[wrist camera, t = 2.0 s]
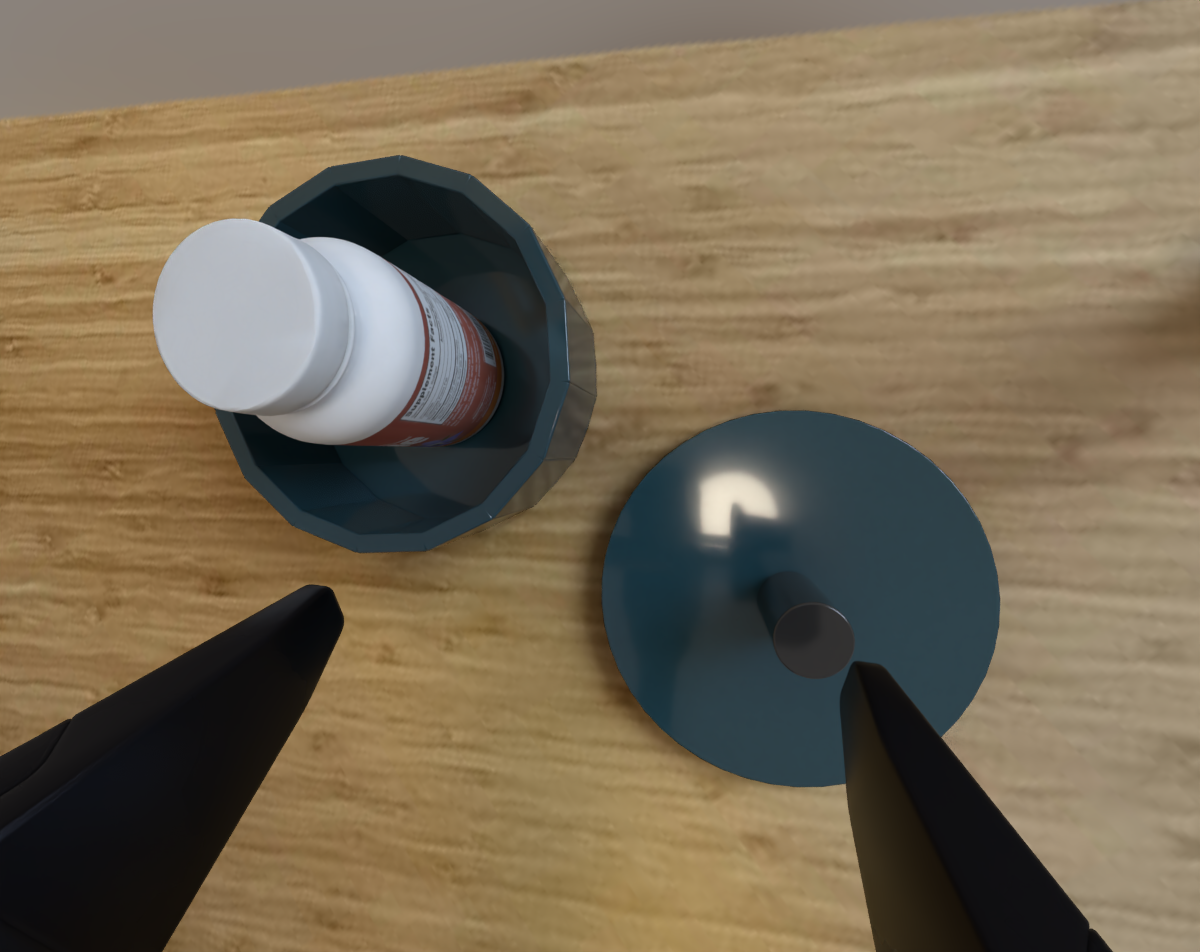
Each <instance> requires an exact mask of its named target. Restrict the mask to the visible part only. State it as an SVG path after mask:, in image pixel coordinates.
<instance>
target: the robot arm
mask: <svg viewBox="0 0 1200 952" xmlns="http://www.w3.org/2000/svg"><path fill="white" fill-rule="evenodd" d="M343 626H344V616H343V613H342V611H341V608H340V606H339V604H338V601H337V599H336V596H335V594H334V592H333V590H332V589H331V588H329V587H327V586H320V585H306V586H304V587H302V588H300V589H298V590H296V591H295V592H293V593H291V594H289V595H287V596H286V597H284V598H282V599H280V600H279V601H277V602H275V603H273V604H271V605H270V606H268V607H266V608H264V609H263V610H261V611H259V612H257V613H255V614H254V615H252V616H250V617H248V618H247V619H245V620H243V621H241V622H240V623H238V624H236V625H234V626H232V627H231V628H229V629H227V630H225V631H224V632H222V633H220V634H218V635H216V636H215V637H213V638H211V639H209V640H208V641H206V642H204V643H202V644H200V645H199V646H197V647H195V648H193V649H192V650H190V651H188V652H186V653H184V654H183V655H181V656H179V657H177V658H176V659H174V660H172V661H170V662H169V663H167V664H165V665H163V666H161V667H160V668H158V669H156V670H154V671H153V672H151V673H149V674H147V675H145V676H144V677H142V678H140V679H138V680H137V681H135V682H133V683H131V684H129V685H128V686H126V687H124V688H122V689H121V690H119V691H117V692H115V693H113V694H112V695H110V696H108V697H106V698H105V699H103V700H101V701H99V702H97V703H96V704H94V705H92V706H90V707H89V708H87V709H85V710H83V711H81V712H80V713H78V714H76V715H75V716H74V717H73V718H72V719H67V720H65V721H63V722H62V723H60V724H58V725H56V726H55V727H53V728H51V729H49V730H48V731H46V732H44V733H42V734H41V735H39V736H37V737H35V738H33V739H31V740H30V741H28V742H26V743H24V744H22V745H20V746H19V747H17V748H15V749H13V750H11V751H9V752H8V753H6V754H4V755H2V756H0V952H162V951H163V950H164V948H165V946H166V944H167V943H168V941H169V939H170V938H171V936H172V934H173V933H174V931H175V929H176V927H177V926H178V924H179V922H180V921H181V919H182V917H183V916H184V914H185V912H186V910H187V909H188V907H189V905H190V904H191V902H192V900H193V899H194V897H195V895H196V894H197V892H198V890H199V888H200V887H201V885H202V883H203V882H204V880H205V878H206V877H207V875H208V873H209V871H210V870H211V868H212V866H213V865H214V863H215V861H216V860H217V858H218V856H219V854H220V853H221V851H222V849H223V848H224V846H225V844H226V843H227V841H228V839H229V837H230V836H231V834H232V832H233V831H234V829H235V827H236V826H237V824H238V822H239V821H240V819H241V817H242V815H243V814H244V812H245V810H246V809H247V807H248V805H249V804H250V802H251V800H252V798H253V797H254V795H255V793H256V792H257V790H258V788H259V787H260V785H261V783H262V781H263V780H264V778H265V776H266V775H267V773H268V771H269V770H270V768H271V766H272V764H273V763H274V761H275V759H276V758H277V756H278V754H279V753H280V751H281V749H282V747H283V746H284V744H285V742H286V741H287V739H288V737H289V736H290V734H291V732H292V731H293V729H294V727H295V725H296V724H297V722H298V720H299V719H300V717H301V715H302V713H303V711H304V710H305V708H306V706H307V704H308V702H309V700H310V698H311V696H312V694H313V692H314V690H315V687H316V685H317V683H318V681H319V679H320V677H321V675H322V673H323V670H324V668H325V666H326V664H327V662H328V660H329V658H330V655H331V653H332V651H333V649H334V647H335V645H336V643H337V640H338V638H339V636H340V634H341V632H342V629H343ZM839 706H840V719H841V731H842V743H843V755H844V767H845V778H846V790H847V800H848V809H849V815H850V821H851V827H852V832H853V837H854V842H855V847H856V852H857V857H858V862H859V867H860V873H861V878H862V883H863V888H864V893H865V898H866V903H867V908H868V913H869V919H870V924H871V929H872V934H873V939H874V944H875V949H876V952H1113V951H1112V950H1111V949H1110V948H1109V946H1108V945H1107V944H1106V943H1105V941H1104V940H1103V939H1102V938H1101V936H1100V935H1099V934H1098V933H1097V931H1095V930H1094V929H1089V922H1088V921H1087V919H1086V918H1085V917H1084V915H1083V914H1082V913H1081V912H1080V910H1079V909H1078V908H1077V907H1076V905H1075V904H1074V903H1073V902H1072V900H1071V899H1070V898H1069V897H1068V895H1067V894H1066V893H1065V892H1064V890H1063V889H1062V888H1061V887H1060V885H1059V884H1058V883H1057V882H1056V880H1055V879H1054V878H1053V877H1052V875H1051V874H1050V873H1049V872H1048V870H1047V869H1046V868H1045V867H1044V865H1043V864H1042V863H1041V862H1040V860H1039V859H1038V858H1037V857H1036V855H1035V854H1034V853H1033V852H1032V850H1031V849H1030V848H1029V847H1028V845H1027V844H1026V843H1025V842H1024V840H1023V839H1022V838H1021V837H1020V835H1019V834H1018V833H1017V832H1016V830H1015V829H1014V828H1013V827H1012V825H1011V824H1010V823H1009V822H1008V820H1007V819H1006V818H1005V817H1004V815H1003V814H1002V813H1001V812H1000V810H999V809H998V808H997V807H996V805H995V804H994V803H993V802H992V800H991V799H990V798H989V797H988V795H987V794H986V793H985V792H984V790H983V789H982V788H981V787H980V785H979V784H978V783H977V782H976V780H975V779H974V778H973V777H972V775H971V774H970V773H969V772H968V770H967V769H966V768H965V767H964V765H963V764H962V763H961V762H960V760H959V759H958V758H957V757H956V755H955V754H954V753H953V752H952V750H951V749H950V748H949V747H948V745H947V744H946V743H945V742H944V740H943V739H942V738H941V737H940V735H939V734H938V733H937V732H936V730H935V729H934V728H933V727H932V725H931V724H930V723H929V722H928V720H927V719H926V718H925V717H924V715H923V714H922V713H921V712H920V710H919V709H918V708H917V707H916V705H915V704H914V703H913V702H912V700H911V699H910V698H909V697H908V695H907V694H906V693H905V692H904V690H903V689H902V688H901V687H900V685H899V684H898V683H897V682H896V680H895V679H894V678H893V677H892V675H891V674H890V673H889V672H888V670H887V669H886V668H885V667H884V666H882V665H880V664H877V663H871V662H864V661H854V662H853V663H852V664H851V666H850V669H849V671H848V674H847V677H846V679H845V682H844V685H843V687H842V690H841V693H840V703H839Z"/></svg>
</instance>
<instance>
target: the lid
mask: <svg viewBox="0 0 1200 952" xmlns="http://www.w3.org/2000/svg"><path fill="white" fill-rule="evenodd" d="M602 610H603V618H604V626H605V630H606V634H607V638H608V642H609V646H610V649H611V652H612V654H613V657H614V659H615V662H616V664H617V667H618V669H619V671H620V673H621V675H622V677H623V679H624V681H625V682H626V684H627V686H628V688H629V690H630V691H631V693H632V694H633V696H634V697H635V698H636V700H637V701H638V703H639V704H640V705H641V707H642V708H643V709H644V711H645V712H646V713H647V714H648V715H649V716H650V717H651V718H652V719H653V721H654V722H655V723H656V724H657V725H658V726H659V727H660V728H661V729H662V730H663V731H664V732H666V733H667V734H668V735H669V736H670V737H671V738H673V739H674V740H675V741H676V742H677V743H678V744H680V745H681V746H683V747H684V748H686V749H687V750H689V751H690V752H692V753H693V754H695V755H696V756H698V757H699V758H701V759H703V760H705V761H707V762H709V763H711V764H712V765H714V766H716V767H718V768H720V769H722V770H725V771H728V772H730V773H733V774H736V775H739V776H741V777H744V778H747V779H751V780H756V781H760V782H764V783H768V784H774V785H783V786H792V787H825V786H832V785H840V784H846V778H845V767H844V755H843V743H842V731H841V719H840V706H839V703H840V693H841V690H842V687H843V685H844V682H845V679H846V677H847V674H848V671H849V669H850V666H851V664H852V663H853V662H854V661H864V662H871V663H877V664H880V665H882V666H884V667H885V668H886V669H887V670H888V672H889V673H890V674H891V675H892V677H893V678H894V679H895V680H896V682H897V683H898V684H899V685H900V687H901V688H902V689H903V690H904V692H905V693H906V694H907V695H908V697H909V698H910V699H911V700H912V702H913V703H914V704H915V705H916V707H917V708H918V709H919V710H920V712H921V713H922V714H923V715H924V717H925V718H926V719H927V720H928V722H929V723H930V724H931V725H932V727H933V728H934V729H935V730H936V732H937V733H938V734H939V735H940V737H942V736H943V735H944V734H945V733H946V732H947V731H948V730H949V729H950V728H951V726H952V725H953V724H954V723H955V722H956V721H957V720H958V719H959V718H960V716H961V715H962V714H963V712H964V711H965V710H966V708H967V707H968V705H969V704H970V703H971V701H972V700H973V699H974V697H975V695H976V693H977V691H978V689H979V687H980V685H981V683H982V682H983V680H984V678H985V676H986V673H987V670H988V667H989V665H990V662H991V659H992V656H993V653H994V649H995V644H996V639H997V634H998V629H999V615H1000V594H999V584H998V575H997V570H996V566H995V562H994V558H993V554H992V551H991V547H990V545H989V542H988V540H987V537H986V535H985V533H984V530H983V528H982V525H981V523H980V521H979V520H978V518H977V516H976V514H975V513H974V511H973V509H972V508H971V506H970V504H969V503H968V501H967V499H966V498H965V497H964V496H963V494H962V493H961V492H960V491H959V489H958V488H957V487H956V486H955V484H954V483H953V482H952V480H951V479H950V478H949V477H948V476H947V475H946V474H945V473H944V472H943V471H942V470H941V469H940V468H938V467H937V466H936V465H935V464H934V463H933V462H932V461H931V460H930V459H929V458H927V457H926V456H925V455H923V454H922V453H921V452H919V451H918V450H916V449H915V448H914V447H912V446H911V445H910V444H908V443H906V442H905V441H903V440H901V439H899V438H897V437H896V436H894V435H892V434H890V433H888V432H886V431H885V430H882V429H880V428H877V427H875V426H872V425H869V424H867V423H864V422H862V421H859V420H855V419H852V418H848V417H844V416H840V415H836V414H830V413H822V412H814V411H774V412H766V413H758V414H752V415H748V416H745V417H741V418H737V419H733V420H729V421H727V422H724V423H722V424H719V425H717V426H714V427H712V428H709V429H707V430H705V431H703V432H701V433H700V434H698V435H696V436H694V437H692V438H691V439H689V440H687V441H685V442H684V443H682V444H681V445H680V446H678V447H677V448H676V449H674V450H673V451H672V452H670V453H669V454H668V455H666V456H665V457H664V458H663V459H662V460H661V461H660V462H659V463H658V464H656V465H655V466H654V467H653V468H652V469H651V470H650V471H649V472H648V473H647V474H646V476H645V477H644V478H643V479H642V481H641V482H640V483H639V485H638V486H637V487H636V488H635V490H634V491H633V492H632V494H631V495H630V497H629V499H628V500H627V502H626V504H625V506H624V507H623V509H622V511H621V512H620V515H619V517H618V519H617V522H616V524H615V526H614V529H613V531H612V533H611V536H610V540H609V544H608V547H607V551H606V554H605V560H604V567H603V574H602Z"/></svg>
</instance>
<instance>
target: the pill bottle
mask: <svg viewBox="0 0 1200 952" xmlns="http://www.w3.org/2000/svg"><path fill="white" fill-rule="evenodd" d="M153 325H154V333H155V338H156V342H157V346H158V349H159V352H160V355H161V357H162V359H163V361H164V363H165V365H166V367H167V369H168V370H169V372H170V373H171V375H172V376H173V378H174V379H175V381H176V382H177V383H178V384H179V385H180V386H181V387H182V388H183V389H184V390H185V391H186V392H187V393H188V394H190V395H191V396H192V397H194V398H195V399H196V400H198V401H199V402H201V403H203V404H205V405H207V406H210V407H213V408H216V409H219V410H224V411H229V412H236V413H243V414H251V415H256V416H257V417H258V418H259V419H261V420H262V421H263V422H264V423H266V424H267V425H269V426H270V427H271V428H273V429H274V430H276V431H278V432H280V433H282V434H284V435H286V436H288V437H291V438H293V439H297V440H300V441H304V442H309V443H316V444H325V445H355V446H402V447H441V446H448V445H453V444H457V443H460V442H462V441H465V440H467V439H468V438H470V437H472V436H473V435H475V434H476V433H478V432H479V431H480V430H481V429H482V428H483V427H484V426H485V425H486V424H487V423H488V422H489V420H490V419H491V417H492V416H493V414H494V413H495V411H496V409H497V407H498V405H499V402H500V399H501V396H502V391H503V386H504V367H503V361H502V356H501V353H500V350H499V347H498V345H497V343H496V341H495V339H494V337H493V336H492V334H491V333H490V332H489V330H488V329H487V328H486V327H485V326H484V324H483V323H481V322H480V321H479V320H478V319H477V318H476V317H474V316H473V315H472V314H470V313H469V312H467V311H466V310H464V309H463V308H461V307H460V306H458V305H457V304H455V303H454V302H452V301H450V300H449V299H447V298H445V297H444V296H442V295H440V294H439V293H437V292H436V291H434V290H433V289H431V288H430V287H428V286H426V285H425V284H423V283H422V282H420V281H418V280H417V279H415V278H414V277H412V276H410V275H409V274H407V273H406V272H404V271H403V270H401V269H399V268H398V267H396V266H395V265H393V264H392V263H390V262H388V261H387V260H385V259H383V258H382V257H380V256H378V255H376V254H375V253H373V252H371V251H369V250H367V249H366V248H364V247H362V246H359V245H357V244H354V243H352V242H349V241H345V240H341V239H336V238H328V237H312V238H305V239H297V238H294V237H292V236H290V235H288V234H286V233H284V232H282V231H280V230H278V229H275V228H273V227H271V226H269V225H267V224H264V223H262V222H258V221H253V220H249V219H226V220H220V221H216V222H213V223H210V224H208V225H205V226H203V227H201V228H199V229H198V230H197V231H195V232H193V233H192V234H190V235H189V236H188V237H187V238H186V239H184V240H183V241H182V242H181V243H180V244H179V245H178V246H177V248H176V249H175V250H174V251H173V253H172V254H171V255H170V257H169V259H168V260H167V262H166V264H165V266H164V267H163V270H162V272H161V274H160V277H159V279H158V283H157V287H156V290H155V295H154V302H153Z"/></svg>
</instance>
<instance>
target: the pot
mask: <svg viewBox="0 0 1200 952" xmlns="http://www.w3.org/2000/svg"><path fill="white" fill-rule="evenodd" d="M259 222H262V223H264V224H267V225H269V226H271V227H273V228H275V229H278V230H280V231H282V232H284V233H286V234H288V235H290V236H292V237H294V238H297V239H305V238H312V237H328V238H336V239H341V240H345V241H349V242H352V243H354V244H357V245H359V246H362V247H364V248H366V249H367V250H369V251H371V252H373V253H375V254H376V255H378V256H380V257H382V258H383V259H385V260H387V261H388V262H390V263H392V264H393V265H395V266H396V267H398V268H399V269H401V270H403V271H404V272H406V273H407V274H409V275H410V276H412V277H414V278H415V279H417V280H418V281H420V282H422V283H423V284H425V285H426V286H428V287H430V288H431V289H433V290H434V291H436V292H437V293H439V294H440V295H442V296H444V297H445V298H447V299H449V300H450V301H452V302H454V303H455V304H457V305H458V306H460V307H461V308H463V309H464V310H466V311H467V312H469V313H470V314H472V315H473V316H474V317H476V318H477V319H478V320H479V321H480V322H481V323H483V324H484V326H485V327H486V328H487V329H488V330H489V332H490V333H491V334H492V336H493V337H494V339H495V341H496V343H497V345H498V347H499V350H500V353H501V356H502V361H503V367H504V386H503V391H502V396H501V399H500V402H499V405H498V407H497V409H496V411H495V413H494V414H493V416H492V417H491V419H490V420H489V422H488V423H487V424H486V425H485V426H484V427H483V428H482V429H481V430H480V431H479V432H478V433H476V434H475V435H473V436H472V437H470V438H468V439H467V440H465V441H462V442H460V443H457V444H453V445H448V446H441V447H402V446H355V445H325V444H316V443H309V442H304V441H300V440H297V439H293V438H291V437H288V436H286V435H284V434H282V433H280V432H278V431H276V430H274V429H273V428H271V427H270V426H269V425H267V424H266V423H264V422H263V421H262V420H261V419H259V418H258V417H257V416H256V415H251V414H243V413H236V412H229V411H224V410H219V409H216V408H214V409H215V410H216V415H217V418H218V420H219V422H220V424H221V427H222V429H223V431H224V433H225V435H226V438H227V440H228V442H229V444H230V447H231V449H232V451H233V453H234V456H235V458H236V460H237V462H238V465H239V467H240V469H241V471H242V474H243V475H244V478H245V479H246V480H247V481H248V482H249V483H250V484H251V485H252V486H253V487H254V488H255V489H256V490H257V491H258V492H259V493H260V494H261V495H262V496H263V497H264V498H265V499H266V500H267V501H268V502H269V503H270V504H271V505H272V506H273V507H274V508H275V509H276V510H277V511H278V512H279V513H280V514H281V515H282V516H283V517H284V518H285V519H286V520H287V521H288V522H289V523H290V524H291V525H292V526H294V527H296V528H298V529H301V530H303V531H305V532H308V533H310V534H313V535H315V536H317V537H320V538H322V539H325V540H327V541H329V542H332V543H334V544H337V545H339V546H341V547H344V548H346V549H349V550H351V551H353V552H358V553H385V552H424V551H428V550H432V549H435V548H438V547H440V546H443V545H446V544H449V543H451V542H454V541H457V540H460V539H462V538H465V537H468V536H471V535H473V534H476V533H479V532H482V531H484V530H486V529H488V528H490V527H492V526H494V525H496V524H498V523H501V522H503V521H505V520H507V519H509V518H511V517H513V516H515V515H517V514H519V513H521V512H523V511H525V510H527V509H530V508H532V507H533V506H534V505H536V504H537V503H538V502H539V501H540V500H541V498H542V497H543V496H544V495H545V494H546V493H547V492H548V491H549V490H550V489H551V488H552V487H553V486H554V485H555V484H556V483H557V482H558V480H559V479H560V478H561V476H562V475H563V474H564V472H565V471H566V470H567V469H568V467H569V466H570V465H571V464H572V463H573V462H574V461H575V458H576V457H577V454H578V451H579V448H580V446H581V444H582V441H583V439H584V437H585V434H586V432H587V429H588V426H589V422H590V419H591V415H592V411H593V407H594V404H595V401H596V397H597V389H596V359H595V350H594V335H593V332H592V328H591V326H590V324H589V322H588V320H587V318H586V316H585V314H584V311H583V309H582V306H581V304H580V302H579V301H578V299H577V297H576V295H575V293H574V291H573V288H572V286H571V284H570V282H569V280H568V278H567V276H566V274H565V273H564V272H563V270H562V269H561V267H560V266H559V265H558V263H557V262H556V261H555V259H554V258H553V256H552V255H551V254H550V252H549V251H548V249H547V248H546V247H545V245H544V244H543V242H542V241H541V240H540V238H539V237H538V236H537V234H536V233H535V231H534V230H533V229H532V227H531V226H530V225H529V224H528V223H527V222H526V221H525V220H524V219H523V218H522V217H520V216H519V215H518V214H517V213H516V212H515V211H513V210H512V209H511V208H510V207H509V206H508V205H506V204H505V203H504V202H503V201H502V200H501V199H500V198H498V197H497V196H496V195H495V194H494V193H493V192H491V191H490V190H489V189H488V188H487V187H486V186H484V185H483V184H482V183H481V182H480V181H479V180H478V179H476V178H475V177H474V176H471V175H470V174H467V173H464V172H460V171H457V170H453V169H449V168H446V167H442V166H439V165H435V164H432V163H428V162H425V161H421V160H417V159H414V158H410V157H407V156H403V155H401V156H400V155H397V156H391V157H385V158H379V159H373V160H367V161H361V162H355V163H349V164H343V165H337V166H332V167H328V168H326V169H325V170H323V171H322V172H320V173H319V174H317V175H316V176H314V177H313V178H311V179H310V180H308V181H307V182H305V183H304V184H302V185H301V186H299V187H298V188H296V189H295V190H293V191H292V192H290V193H289V194H287V195H286V196H284V197H283V198H281V199H280V200H278V201H277V202H275V203H274V204H272V205H271V206H270V207H268V209H267V210H266V212H265V213H264V214H263V216H262V217H261V219H260V220H259Z"/></svg>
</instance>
